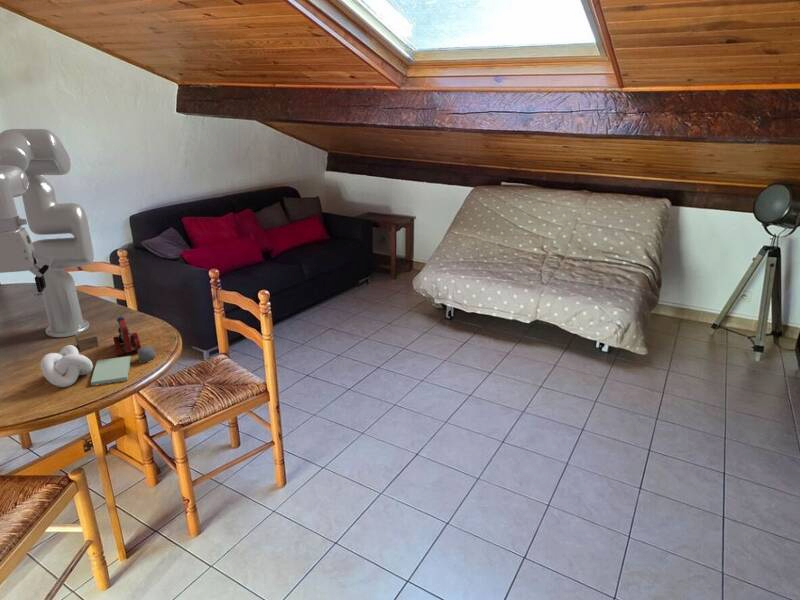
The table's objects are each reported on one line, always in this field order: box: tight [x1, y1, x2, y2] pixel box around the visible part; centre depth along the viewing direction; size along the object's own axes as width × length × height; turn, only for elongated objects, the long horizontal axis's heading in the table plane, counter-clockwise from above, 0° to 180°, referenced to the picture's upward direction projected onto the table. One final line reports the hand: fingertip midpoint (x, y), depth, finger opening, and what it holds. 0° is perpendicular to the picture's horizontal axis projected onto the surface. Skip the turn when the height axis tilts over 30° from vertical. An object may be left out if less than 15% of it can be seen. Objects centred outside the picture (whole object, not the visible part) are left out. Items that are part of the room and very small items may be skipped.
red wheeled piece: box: [112, 316, 142, 357], centre depth 160 cm, size 7×12×10 cm, turn 32°
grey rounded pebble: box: [137, 345, 156, 363], centre depth 156 cm, size 4×4×4 cm
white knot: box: [40, 344, 94, 388], centre depth 144 cm, size 11×12×9 cm
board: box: [90, 355, 132, 386], centre depth 149 cm, size 13×9×1 cm
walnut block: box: [74, 330, 100, 352], centre depth 163 cm, size 5×5×4 cm
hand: (18, 292), depth 126 cm, fingers open, 9 cm apart
